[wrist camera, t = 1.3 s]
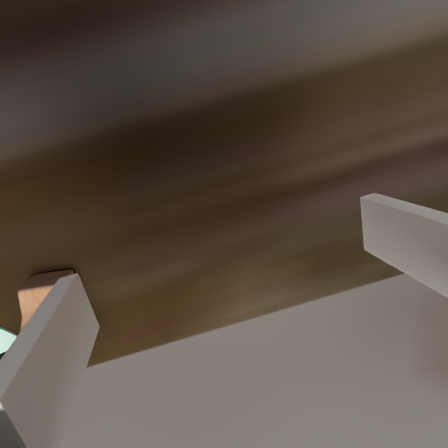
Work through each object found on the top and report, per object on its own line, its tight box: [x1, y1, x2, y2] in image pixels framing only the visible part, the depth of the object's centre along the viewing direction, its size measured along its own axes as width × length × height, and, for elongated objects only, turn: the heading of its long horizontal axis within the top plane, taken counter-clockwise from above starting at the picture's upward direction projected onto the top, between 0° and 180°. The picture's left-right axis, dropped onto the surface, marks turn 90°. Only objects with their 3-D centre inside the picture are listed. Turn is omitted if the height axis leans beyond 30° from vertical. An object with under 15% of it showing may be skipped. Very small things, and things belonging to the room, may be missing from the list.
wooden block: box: [18, 269, 74, 332], centre depth 29 cm, size 9×4×18 cm, turn 5°
